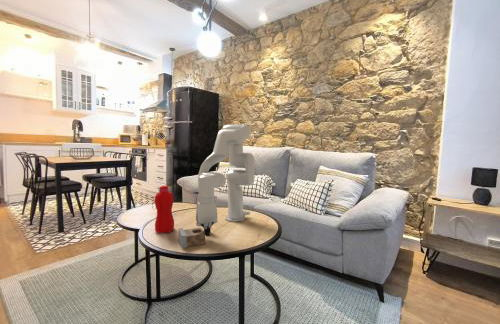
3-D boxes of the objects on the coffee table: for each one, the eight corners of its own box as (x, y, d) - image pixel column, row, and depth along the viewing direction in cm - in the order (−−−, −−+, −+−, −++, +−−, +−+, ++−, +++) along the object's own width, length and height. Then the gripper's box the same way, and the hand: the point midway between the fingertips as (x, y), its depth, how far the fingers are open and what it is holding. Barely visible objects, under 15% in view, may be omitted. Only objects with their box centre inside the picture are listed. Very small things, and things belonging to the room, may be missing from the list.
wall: (182, 239, 117) (182, 228, 117) (186, 247, 108) (186, 235, 108) (178, 240, 116) (178, 228, 116) (182, 248, 107) (182, 236, 107)
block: (200, 236, 121) (200, 227, 120) (205, 243, 112) (205, 233, 112) (182, 239, 117) (182, 230, 116) (186, 247, 109) (186, 236, 108)
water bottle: (155, 227, 133) (154, 184, 131) (175, 227, 134) (174, 184, 132) (150, 234, 124) (148, 187, 122) (171, 233, 125) (170, 187, 123)
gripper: (218, 196, 122) (218, 230, 124) (189, 199, 115) (190, 235, 117) (223, 199, 116) (223, 235, 118) (193, 203, 109) (194, 241, 111)
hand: (207, 235), depth 117 cm, fingers closed
